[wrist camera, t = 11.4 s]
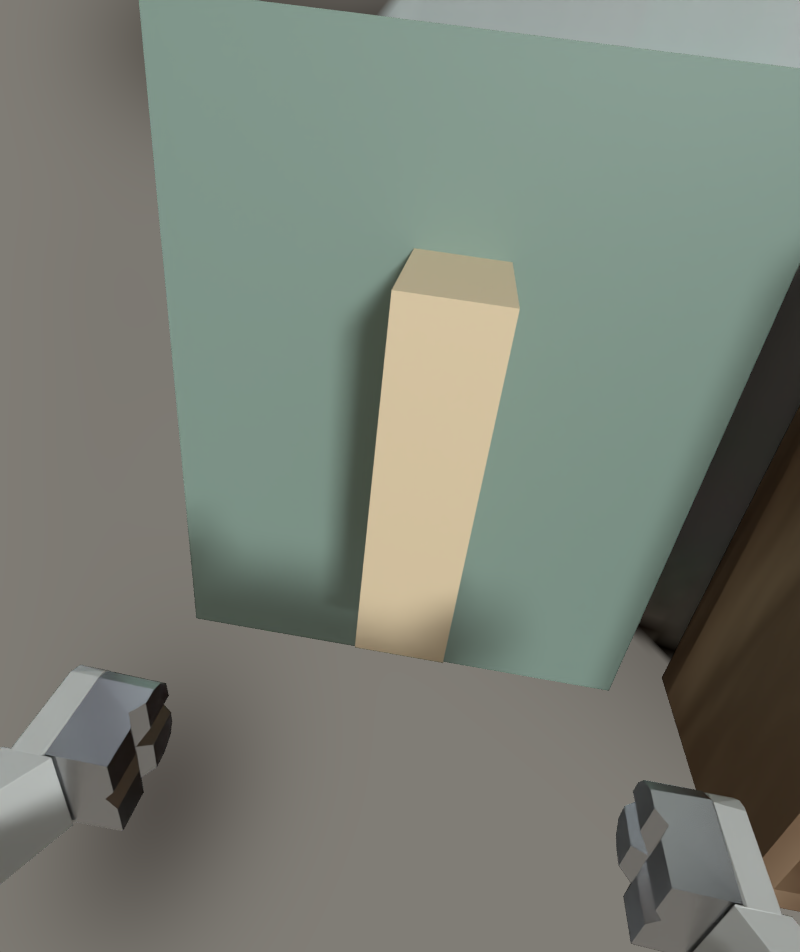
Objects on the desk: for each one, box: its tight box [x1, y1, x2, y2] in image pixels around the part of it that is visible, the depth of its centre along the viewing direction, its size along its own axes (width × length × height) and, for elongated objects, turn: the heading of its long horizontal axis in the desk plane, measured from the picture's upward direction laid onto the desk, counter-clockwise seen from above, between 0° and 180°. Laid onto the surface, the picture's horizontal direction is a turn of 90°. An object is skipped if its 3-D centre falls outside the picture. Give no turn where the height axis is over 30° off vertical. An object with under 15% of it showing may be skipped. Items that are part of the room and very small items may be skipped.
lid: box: [139, 0, 800, 690], centre depth 20 cm, size 19×23×6 cm
